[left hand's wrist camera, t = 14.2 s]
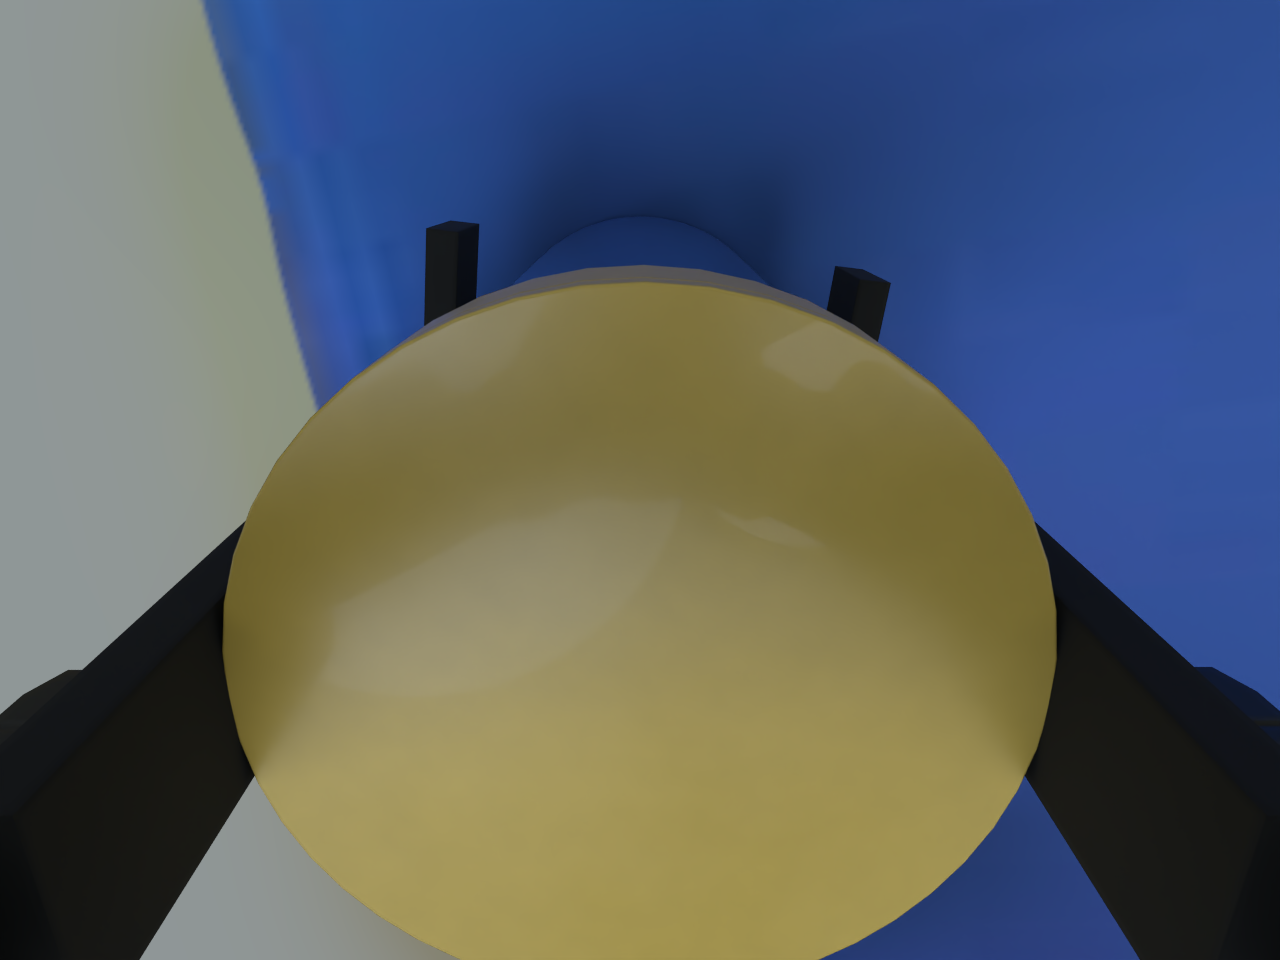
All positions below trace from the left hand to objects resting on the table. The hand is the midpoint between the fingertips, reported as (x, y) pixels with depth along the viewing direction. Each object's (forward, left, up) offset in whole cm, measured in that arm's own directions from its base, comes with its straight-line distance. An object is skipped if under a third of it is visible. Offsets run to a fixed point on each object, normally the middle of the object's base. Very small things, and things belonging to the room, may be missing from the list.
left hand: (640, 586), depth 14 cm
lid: (0, 0, +3) cm, 3 cm away
